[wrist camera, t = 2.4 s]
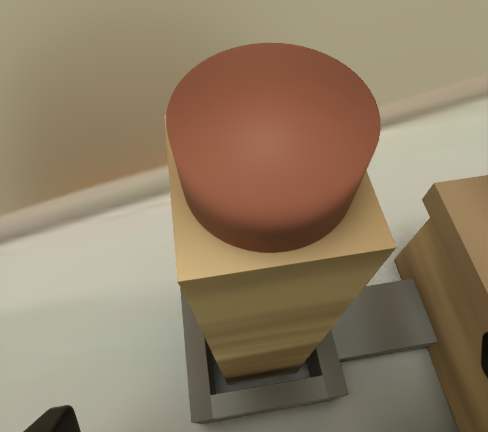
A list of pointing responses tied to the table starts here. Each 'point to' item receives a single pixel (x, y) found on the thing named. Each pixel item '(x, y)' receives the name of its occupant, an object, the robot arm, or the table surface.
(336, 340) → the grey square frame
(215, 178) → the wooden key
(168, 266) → the table surface
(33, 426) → the robot arm
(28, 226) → the table surface
